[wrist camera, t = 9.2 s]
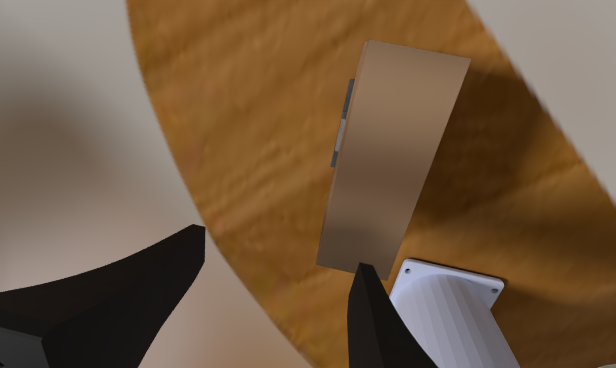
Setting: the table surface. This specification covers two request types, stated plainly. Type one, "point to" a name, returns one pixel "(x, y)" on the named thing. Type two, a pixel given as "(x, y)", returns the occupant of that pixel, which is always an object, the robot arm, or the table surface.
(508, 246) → the table surface
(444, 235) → the table surface
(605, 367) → the cylinder with rectangular tab
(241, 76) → the table surface
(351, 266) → the rectangular block
